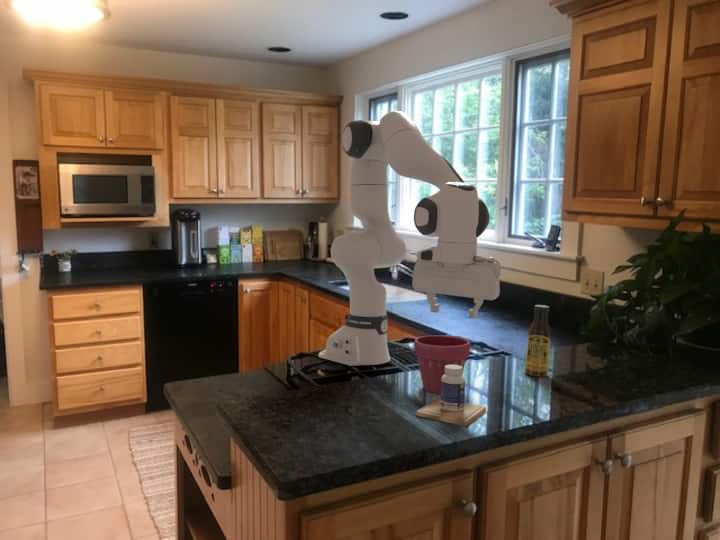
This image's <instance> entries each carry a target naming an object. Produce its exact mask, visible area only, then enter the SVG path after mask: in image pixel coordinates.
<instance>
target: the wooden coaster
mask: <svg viewBox="0 0 720 540" xmlns="http://www.w3.org/2000/svg"><path fill="white" fill-rule="evenodd" d="M485 412H487V406H484V405H479V404H475V403H474V404H473V403H468V402H464V409H463V410H462V411H458V412H452V411H446V410H443V409H442V408H441V397H437V398H436V399H434V400H432V401H431V402H429V403H427V404H426V405H424V406H422V407H421V408H419V409H417V410H416V412H415V415H416V416H418V417H422V418H426V419H430V420H435V421H439V422H445V423H449V424H452V425H458V426H462V427H467V426H469V425H470V424H471V423H473V422H474V421H475V420H476V419H478V418H479V417H481V416H482V415H483V414H485Z"/></svg>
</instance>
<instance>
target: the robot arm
mask: <svg viewBox="0 0 720 540" xmlns="http://www.w3.org/2000/svg"><path fill="white" fill-rule="evenodd" d="M341 139H342V140H341V141H342V148H343V151H344V153H345V154H346V155H347V156H348V157H349V158H352V163H351V167H350V168H351V169H350V183H349V184H350V189H349V190H350V213H352V215H353V217H355V218H357V219H358V220H359V221H360V223H361V226H362V228H363V232H349V233H345V234H342V235H341V234H340V235H339V236H336V237H335V238H334V239H333V241H332V243H331V248H330V257H331V259H332V261H333V263H334V264H335V266H336V267H338V268H339V269H340V270H341V272H342V273H343V274H344V276H345V279H346V281H347V284H348V288H349V289H348V290H349V313H346V315H342V316H341V317H342V319H341V320H343V321H345V322H344V325H342V326H341V327H339V328H338V329H337V330H336V331H334V332H333V333H332V334H331V335H330V336H328V337H327V341H326V344H325V345H326V346H325V349H323V350H321V351H320V352H318V358H319V359H324V360H327V361H328V360H329V361H331V362H334V363H335V362H336V363H339V364H343V365H347V366H350V367H351V366H352V367H353V366H373V365H374V366H375V365H382V364H385V363H388V362H390V361H391V356H390V353H389V347H388V338H387V332H388V314H387V289H386V286H384V284H382V283H380V282H379V281H378V280H377V277H376V275H375V269H383V268H384V269H385V268H390V267H393V266H396V265H398V264H400V263H402V262H403V261H404V258H405V256H406V252H407V251H406V250H407V248H406V247H407V246H406V243H405V241H404V239H403V238H402V236H401V235H399V233H397V231H396V229H395V228H394V225H393V223H392V220H391V217H390V214H389V213H390V212H389V204H388V202H389V201H388V174H387V173H388V171H387V170H388V166H390V167H391V169H392V170H393V171H394V172H395V173H396V174H397V175H399V176H401V177H403V178H407V179H408V178H409V179H413V180H415V181H416V180H417V181H421V182H424V183H428V184H430V185H432V186H434V187H436V188H437V189H439V191H437V192H436V193H434V194H431V195H430V196H429V195H428V196H427V197H423V198H422V199H421V200H420V201H418V203H417V204H416V206H415V208H414V213H413V223H414V224H413V225H414V226H415V228H416V230H417V231H418V232H419V234H420V235H422V236H425V237H430V238H437V245H436V246H432V247H430V248H426V249H422V250H419V251H417V252H416V259H417V260H418V261H416V263H415V264H414V267H413V274H412V288H413V290H414V291H416V292H422V293H426V299H427V301H428V303H429V306H430V313H434V314H435V313H436V314H438V313H440V306H441V305H440V304H439V303H437V302H436V299H435V297H437V295H436V294H439V295H446V296H453V297H462V298H470V299H473V303H474V304H475V305H474V306H473V308H471V309H468V318H472V319H477V318H478V315H479V313H478V310H480V308H481V306H482V305H483V304H484V300H487V301H493V300H496V299H497V298H498V297H499V296H500V292H501V291H500V290H501V289H500V287H501V286H500V275H501V270H502V269H501V267H502V266H501V264H500V261H498V260H497V259H496V258H494V257H492V256H490V257H485V256H477V254H478V253H477V251H478V238H479V237H480V236H481V235H482V234H483V233H484V232H485V231H486V230H487V227H488V226H489V223H490V212H489V209H488V206H487V205H486V203H485V201H483V199H482V198H480V197H479V194H478V190H477V188H476V187H475V186H474V185H473V184H471V183H468V182H465V181H464V180H463V178H462V177H461V176H460V174H459V173H458V172H457V170H456V169H455V167H454V166H453V165H452V164H451V163H450V162H449V161H448V160H447V158H445V157H443V156H442V155H441V154H440V153H438V152H437V151H436V150H435V149H434V148H433V147H432V146H431V145H430V144H429V143H428V142H427V141H426V140H425V138H424V137H423V135H422V133H421V131H420V129H419V128H418V126H417V125H416V124H415V122H414V121H413V120H412V119H411V118H410V117H409V116H408V114H406V113H404V112H403V111H400V110H399V111H398V110H396V111H395V110H393V111H390V112H387V113H386V114H385V115H383V116H382V117H381V119H380V120H362V119H358V120H353V121H349V122H348V123H347V124H346V126H345V127H344V130H343V132H342V138H341Z"/></svg>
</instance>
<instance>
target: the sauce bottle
mask: <svg viewBox="0 0 720 540" xmlns="http://www.w3.org/2000/svg"><path fill="white" fill-rule="evenodd" d="M533 308H534V309H533V311H534V316H533V321H532V323H530V325H529V327H528V336H527V344H526V354H525V366H524V367H525V370H524V372H525V374H526V375H529V376H531V377H539V378H540V377H541V378H544V377H546V376H547V375H548V371H549V361H550V360H549V359H550V351H551V350H550V349H551V335H552V328H551V327H550V324H549V313H550V306H548V305H544V304H535V305H534V307H533Z"/></svg>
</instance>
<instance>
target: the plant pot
mask: <svg viewBox="0 0 720 540" xmlns="http://www.w3.org/2000/svg"><path fill="white" fill-rule="evenodd" d="M470 349H471V342H470V341H469V340H468V339H466V338H462V337H459V336H458V337H457V336H452V335H451V336H449V335H437V334H434V335H432V334H431V335H422V336H417V337H416V338H415V339H414V348H413V353H414V355H415V356H416V357H417V361H418V367H419V372H420V377H421V382H422V388H423V390H425V391H427V392H430V393H434V394H441V378H442V376H443V375H445V374H446V373H445V366H446V365H459V366H462V368H463V370H462V374H461V375H462V376H463V373H464V368H465V364H466V360H467V358H469V357H470V354H471V353H470V352H471V351H470Z"/></svg>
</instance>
